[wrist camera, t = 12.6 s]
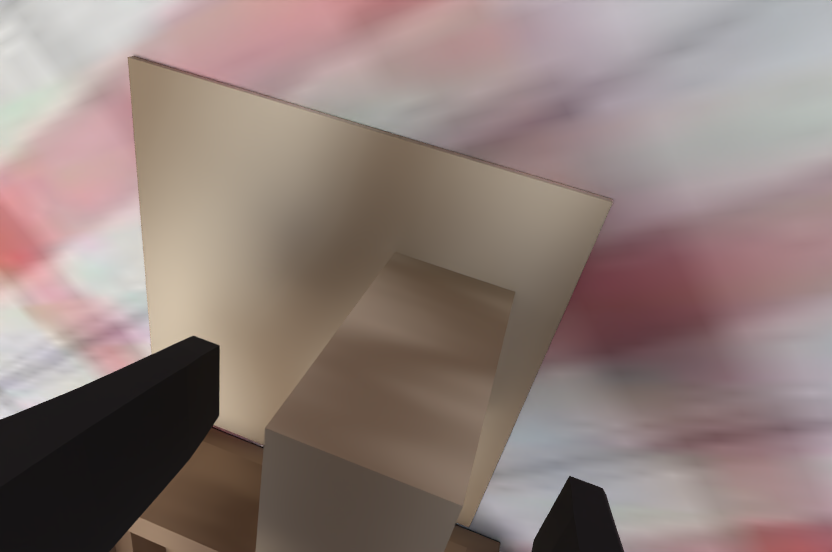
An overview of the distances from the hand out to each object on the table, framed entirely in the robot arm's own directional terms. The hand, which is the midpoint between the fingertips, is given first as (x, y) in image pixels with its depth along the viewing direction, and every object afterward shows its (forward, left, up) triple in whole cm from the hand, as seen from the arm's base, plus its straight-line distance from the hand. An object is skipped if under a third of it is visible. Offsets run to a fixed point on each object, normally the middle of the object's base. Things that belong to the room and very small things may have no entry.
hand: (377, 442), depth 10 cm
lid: (+3, +1, -4) cm, 5 cm away
